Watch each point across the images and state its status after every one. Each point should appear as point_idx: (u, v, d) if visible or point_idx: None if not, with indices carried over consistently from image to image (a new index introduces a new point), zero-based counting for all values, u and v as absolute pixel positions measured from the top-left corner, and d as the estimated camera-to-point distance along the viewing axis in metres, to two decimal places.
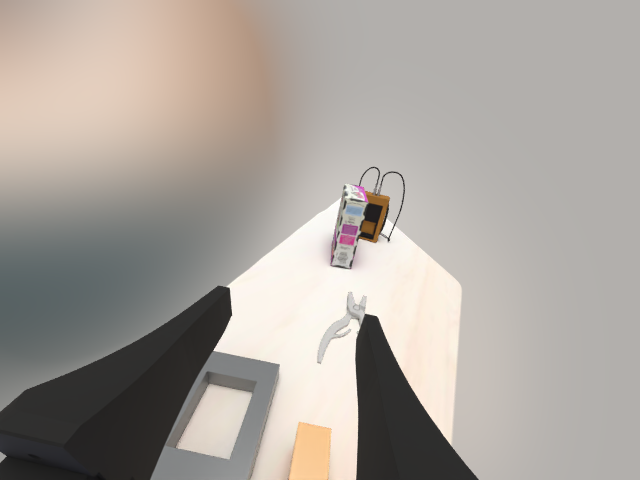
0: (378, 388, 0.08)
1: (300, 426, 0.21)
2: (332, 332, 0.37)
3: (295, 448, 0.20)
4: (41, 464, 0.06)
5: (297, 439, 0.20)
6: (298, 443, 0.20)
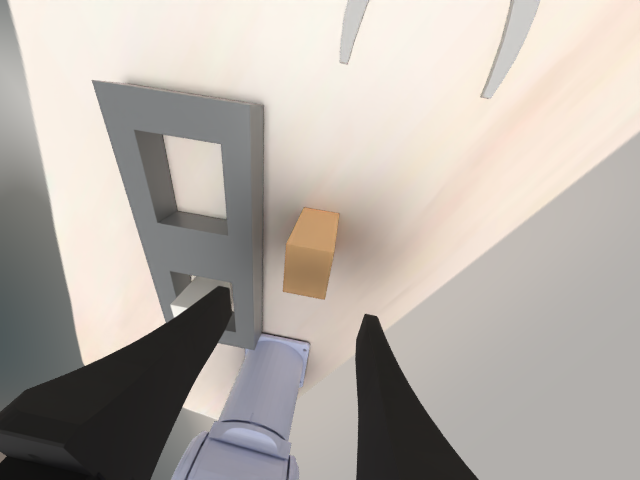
0: (378, 388, 0.08)
1: (289, 248, 0.15)
2: None
3: (285, 268, 0.15)
4: (41, 464, 0.06)
5: (287, 261, 0.15)
6: (289, 264, 0.15)
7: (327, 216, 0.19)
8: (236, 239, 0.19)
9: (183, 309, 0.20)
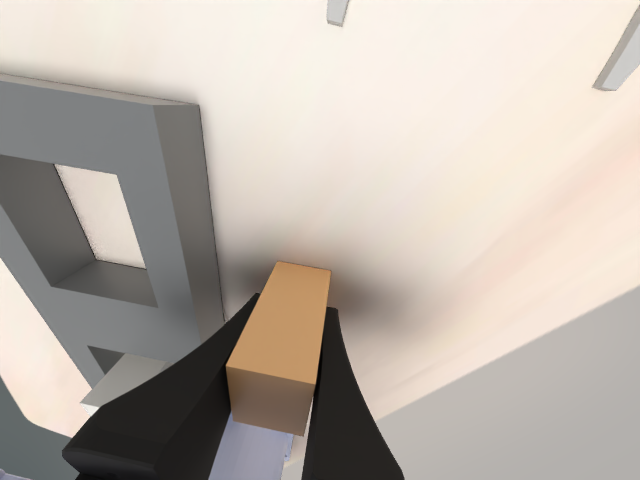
0: (320, 376, 0.08)
1: (232, 372, 0.08)
2: None
3: (232, 396, 0.09)
4: None
5: (232, 387, 0.08)
6: (236, 391, 0.08)
7: (311, 279, 0.12)
8: (171, 313, 0.12)
9: None
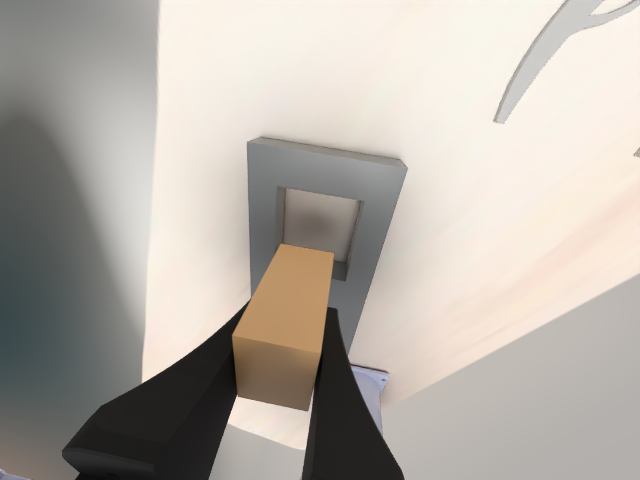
0: (320, 376, 0.08)
1: (238, 342, 0.08)
2: (587, 7, 0.11)
3: (237, 369, 0.09)
4: None
5: (238, 359, 0.08)
6: (242, 363, 0.09)
7: (315, 260, 0.12)
8: (353, 284, 0.19)
9: None
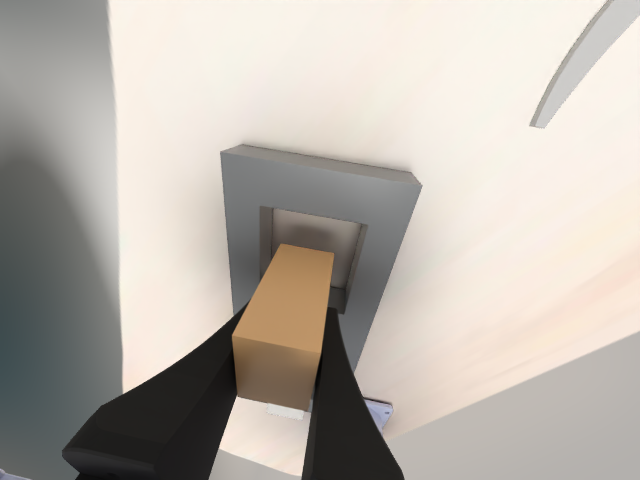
0: (320, 376, 0.08)
1: (238, 342, 0.08)
2: None
3: (237, 369, 0.09)
4: None
5: (237, 359, 0.08)
6: (241, 363, 0.09)
7: (315, 260, 0.12)
8: (353, 318, 0.16)
9: None
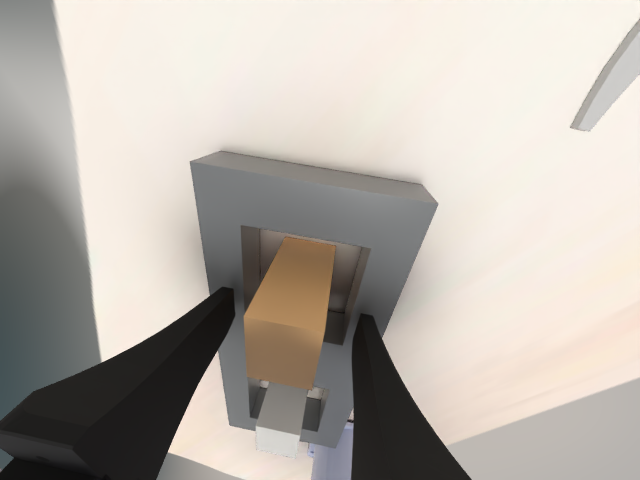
0: (372, 387, 0.08)
1: (249, 323, 0.09)
2: None
3: (247, 349, 0.09)
4: (48, 466, 0.06)
5: (248, 339, 0.09)
6: (251, 344, 0.09)
7: (317, 252, 0.13)
8: None
9: (272, 431, 0.15)
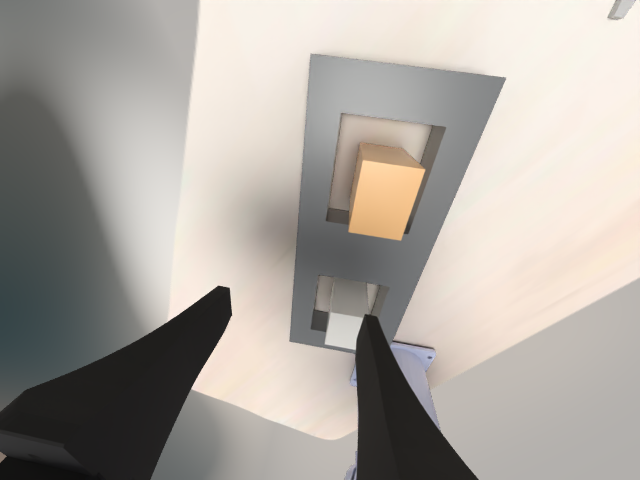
0: (378, 388, 0.08)
1: (366, 167, 0.11)
2: None
3: (357, 198, 0.12)
4: (41, 464, 0.06)
5: (360, 186, 0.12)
6: (362, 191, 0.12)
7: (391, 149, 0.15)
8: (416, 238, 0.17)
9: (344, 317, 0.18)
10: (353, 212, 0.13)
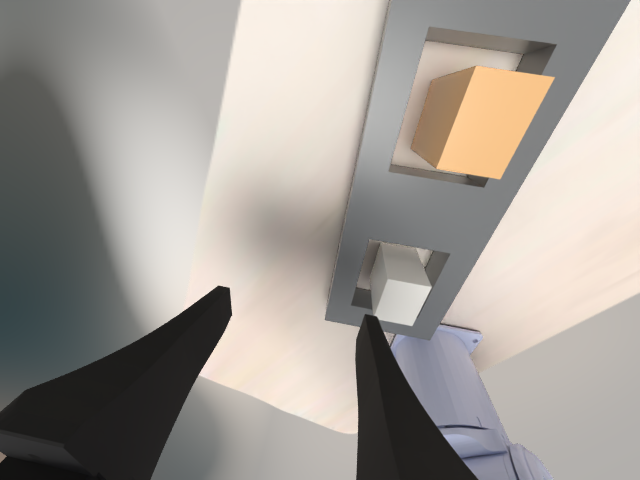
0: (378, 388, 0.08)
1: (477, 76, 0.09)
2: None
3: (457, 120, 0.10)
4: (41, 464, 0.06)
5: (464, 104, 0.10)
6: (465, 111, 0.10)
7: None
8: (493, 192, 0.15)
9: (403, 285, 0.16)
10: (448, 141, 0.11)
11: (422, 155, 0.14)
